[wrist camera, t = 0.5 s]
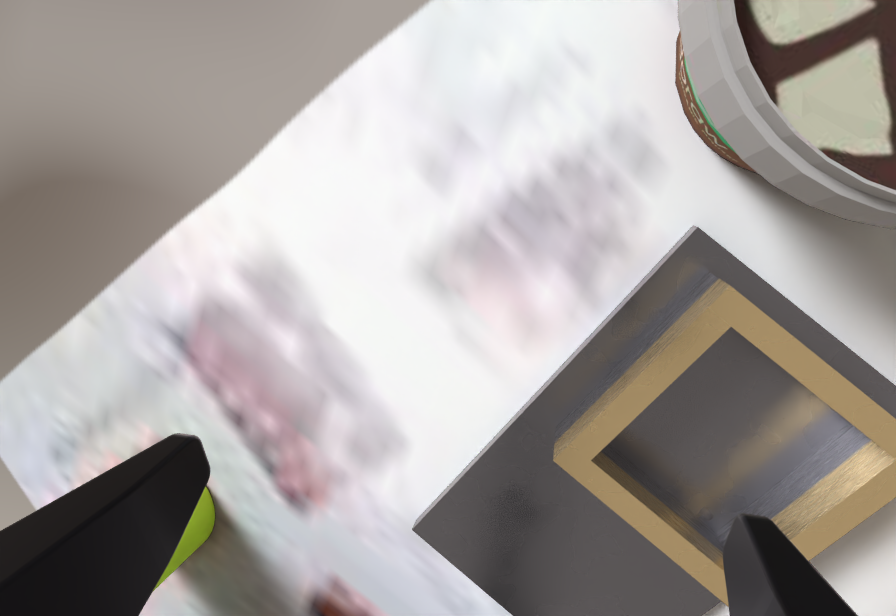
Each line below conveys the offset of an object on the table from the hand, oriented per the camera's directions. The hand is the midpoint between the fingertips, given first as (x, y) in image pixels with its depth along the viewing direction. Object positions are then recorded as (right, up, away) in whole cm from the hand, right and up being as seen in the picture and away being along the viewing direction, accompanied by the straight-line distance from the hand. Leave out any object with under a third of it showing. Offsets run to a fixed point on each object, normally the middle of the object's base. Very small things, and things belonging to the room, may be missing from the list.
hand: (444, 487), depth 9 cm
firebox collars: (+9, -5, +15) cm, 18 cm away
